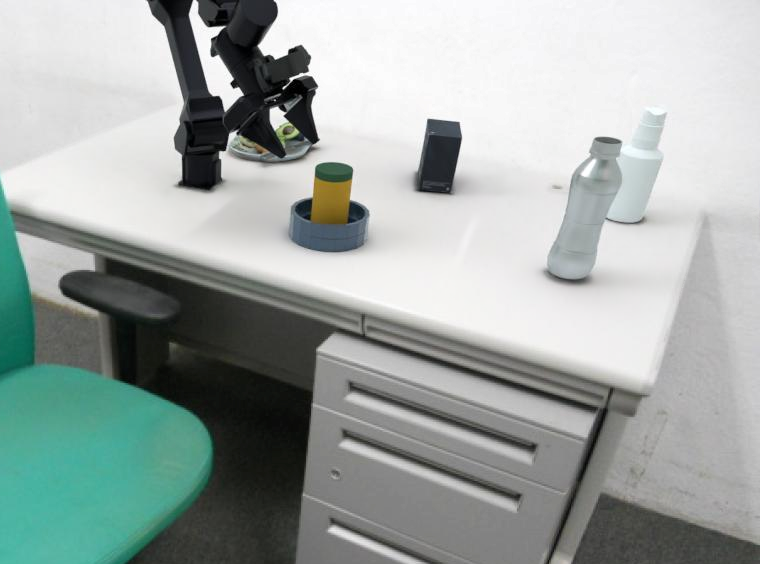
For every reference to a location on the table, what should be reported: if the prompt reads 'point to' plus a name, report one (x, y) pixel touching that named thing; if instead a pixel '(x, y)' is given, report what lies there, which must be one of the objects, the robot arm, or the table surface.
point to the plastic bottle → (586, 210)
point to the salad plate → (249, 150)
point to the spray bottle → (639, 167)
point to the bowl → (328, 228)
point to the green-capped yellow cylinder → (331, 193)
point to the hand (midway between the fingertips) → (300, 149)
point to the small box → (439, 155)
